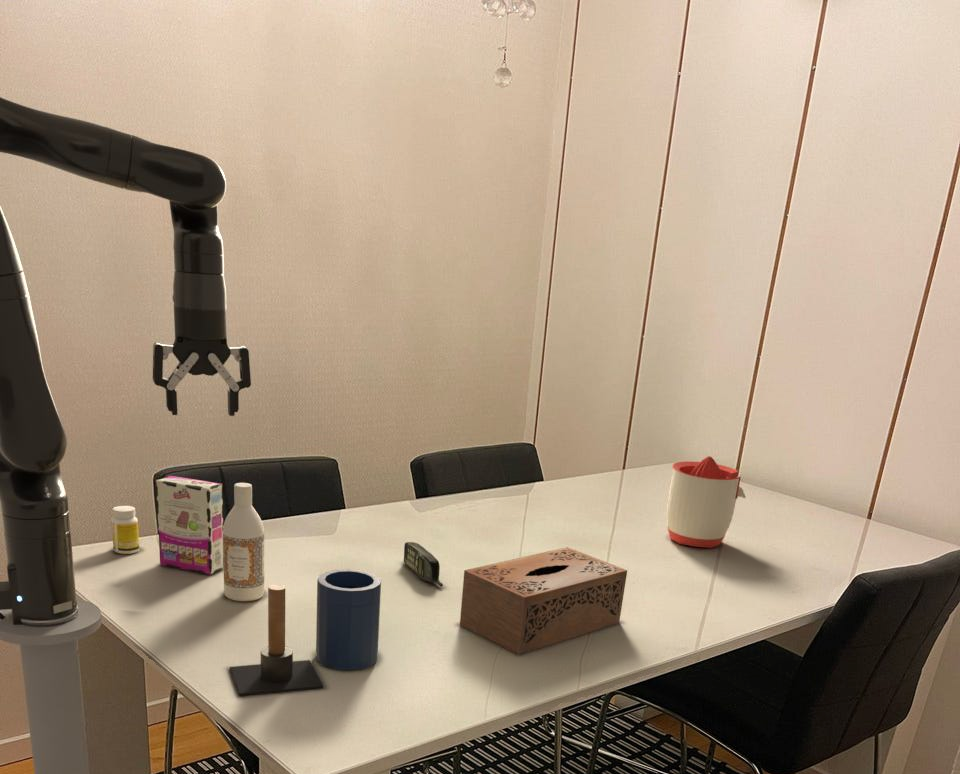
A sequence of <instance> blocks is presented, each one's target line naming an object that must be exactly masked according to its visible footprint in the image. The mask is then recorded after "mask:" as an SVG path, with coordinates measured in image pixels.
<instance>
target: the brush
mask: <svg viewBox="0 0 960 774" xmlns="http://www.w3.org/2000/svg"><path fill="white" fill-rule="evenodd" d="M267 593H268V594H267V612H268V613H267V627H268V628H267V641H268V642H267V646H265V647H263V648H261V650H260V664H261V678H262V679H263V680H265V681H267V682H272V683H281V682H286V681H288V680H290V679H291V678H292V676H293V662H294V652H293V649H292V648H291V647H289V646H286V586H285V585H284V584H278V583H274V584H270V585H268V586H267Z"/></svg>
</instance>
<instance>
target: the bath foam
mask: <svg viewBox="0 0 960 774" xmlns="http://www.w3.org/2000/svg"><path fill="white" fill-rule="evenodd" d="M233 495H234V496H233V499H234V500H233V501H234V504H233V506H232V508H231V509H230V511H229V512H228V514H227V516H226V517H225V520H224V521H223V569H222V570H223V593H224V596H225V597H227V598H228V599H230V600H232V601H237V602H252V601H256V600H259V599H261V598H262V597H263V596H264V594H265V527H264V523H263V520H262V519H261V516H260V515H259V514H258V511H256V509H255V508H254V506H253V486H252V484H251V483H248V482H236V483H234V485H233Z"/></svg>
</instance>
